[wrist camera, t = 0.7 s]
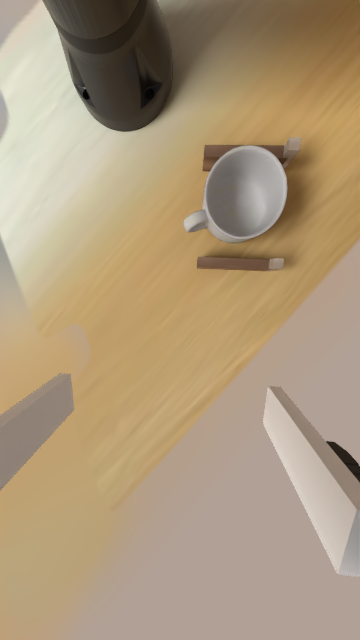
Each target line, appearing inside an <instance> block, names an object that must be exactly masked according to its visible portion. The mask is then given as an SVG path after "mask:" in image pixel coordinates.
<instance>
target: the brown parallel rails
mask: <svg viewBox="0 0 360 640" xmlns="http://www.w3.org/2000/svg"><path fill="white" fill-rule="evenodd" d="M300 144H301V138H297V137H290V138H289V140H288V141H287V143H286V144H285V146H268V145H252V146H258V147H262V148H264V149H266V150H268V151H270V152H271V153H272V154H274V155H275V156H276V157H277V159H278V160H279V161H280V163H281V164H282V166H283V169H285V168H286V167H287V166H288V164H289V163H290V162H291V161H292V159H293V158H294V157H295V156H296V154H297V153H298V152H299V151H300ZM240 146H245V145H205V148H204V159H203V171H211V169H212V167H213V166H214V164H215V163H216V162H217V161H218V160H219V159H220V157H222V156H223V155H224V154H226V153H227V152H228V151H230V150H231V149H234V148H237V147H240ZM246 146H247V145H246ZM283 264H284V259H283V258H273V259H243V258H217V257H198V259H197V268H201V269H225V270H249V271H274V270H280V269H283Z"/></svg>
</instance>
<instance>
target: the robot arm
mask: <svg viewBox="0 0 360 640" xmlns="http://www.w3.org/2000/svg"><path fill="white" fill-rule="evenodd" d="M43 2H44V4H45V6H46V8H47V10H48V11H49V13H50V15H51V17H52V19H53V21H54V23H55V25H56V27H57V29H58V32H59V36H60V39H61V43H62V46H63V50H64V54H65V57H66V61H67V64H68V68H69V71H70V75H71V78H72V81H73V83H74V86H75V88H76V90H77V92H78V94H79V96H80V98H81V99H82V101H83V103H84V104H85V106H86V108H87V109H88V111H89V112H90V113H91V115H92V116H93V117H94V118H95V119H96V120H97V121H98V122H100V123H101V124H103V125H104V126H106V127H108V128H110V129H113V130H118V131H132V130H136V129H139V128H141V127H143V126H145V125H147V124H148V123H149V122H151V121H152V120H153V119H154V118H155V117H156V116H157V115H158V114H159V112H160V111H161V110H162V108H163V106H164V104H165V103H166V100H167V98H168V96H169V92H170V89H171V84H172V76H173V66H172V55H171V45H170V40H169V35H168V31H167V28H166V25H165V22H164V20H163V17H162V14H161V11H160V9H159V6H158V3H157V0H43ZM73 410H74V403H73V393H72V382H71V375H70V374H61V373H60V374H58V375H57V376H56V377H54V378H53V379H51V380H50V381H48V382H47V383H46V384H44V385H43V386H41V387H40V388H39V389H37V390H36V391H34V392H33V393H31V394H30V395H28V396H27V397H26V398H24V399H23V400H22V401H20V402H19V403H17V404H16V405H14V406H13V407H11V408H10V409H9V410H7V411H6V412H4V413H3V414H1V415H0V490H1V489H2V488H3V487H4V486H5V485H6V484H7V483H8V482H9V481H10V479H11V478H12V477H13V476H14V475H15V474H16V473H17V472H18V471H19V470H20V468H21V467H22V466H23V465H24V464H25V463H26V462H27V461H28V460H29V459H30V458H31V456H32V455H33V454H34V453H35V452H36V451H37V450H38V449H39V448H40V447H41V445H42V444H43V443H44V442H45V441H46V440H47V439H48V438H49V437H50V436H51V435H52V433H53V432H54V431H55V430H56V429H57V428H58V427H59V426H60V425H61V424H62V422H63V421H64V420H65V419H66V418H67V417H68V416H69V415H70V414H71V413H72V412H73ZM263 424H264V426H265V428H266V430H267V433H268V435H269V437H270V438H271V440H272V443H273V445H274V447H275V448H276V451H277V453H278V455H279V457H280V459H281V461H282V463H283V465H284V467H285V469H286V471H287V473H288V475H289V477H290V479H291V481H292V483H293V485H294V487H295V489H296V491H297V493H298V495H299V497H300V499H301V501H302V503H303V505H304V507H305V509H306V511H307V513H308V515H309V517H310V519H311V521H312V523H313V525H314V527H315V529H316V532H317V534H318V535H319V537H320V540H321V542H322V544H323V546H324V548H325V550H326V552H327V554H328V556H329V558H330V560H331V562H332V564H333V566H334V568H335V570H336V572H337V574H340V575H348V576H357V577H360V466H359V465H358V463H357V462H356V461H355V460H354V458H352V456H351V455H350V454H349V453H348V452H347V451H346V450H344V449H343V448H342V447H340V446H339V445H338V444H336V443H335V442H328V441H325V440H324V439H323V438H322V436H321V435H320V434H319V433H318V432H317V430H316V429H315V428H314V427H313V426H312V425H311V423H310V422H309V421H308V420H307V419H306V417H305V416H304V415H303V414H302V412H301V411H300V410H299V409H298V407H297V406H296V405H295V404H294V403H293V401H292V400H291V399H290V398H289V397H288V396H287V394H286V393H285V392H284V391H283V389H282V388H281V387H273V386H268V391H267V398H266V405H265V413H264V419H263Z"/></svg>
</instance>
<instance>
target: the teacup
mask: <svg viewBox="0 0 360 640" xmlns="http://www.w3.org/2000/svg"><path fill="white" fill-rule="evenodd" d="M286 198H287V177H286V174H285V171H284V169H283V166H282V164H281V163H280V161H279V160H278V159H277V157H276V156H275V155H274V154H272V153H271V152H270V151H268V150H266V149H264V148H262V147H258V146H252V145H247V146H246V145H245V146H240V147H237V148H234V149H231V150H230V151H228V152H227V153H226V154H224V155H223V156H222V157H220V159H219V160H218V161H217V162H216V163H215V164H214V166H213V167H212V169H211V171H210V173H209V175H208V178H207V181H206V184H205V190H204V199H203V210H200V211H197V212H195V213H193V214H191V215H189V216H188V217H187V218H186V219H185V220H184V228H185V230H186V231H187V232H195V231H198V230H201V229H205V228H208V229H209V231H210V232H211V233H212V234H213V235H214V236H215V237H216V238H218V239H219V240H221V241H224V242H228V243H239V242H243V241H246V240H249V239H251V238H254V237H256V236H259V235H261V234H263V233H264V232H266V231H267V230H268V229H270V228H271V227H272V226H273V225H274V223H275V222H276V221H277V220H278V218H279V217H280V215H281V213H282V211H283V209H284V206H285V203H286Z"/></svg>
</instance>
